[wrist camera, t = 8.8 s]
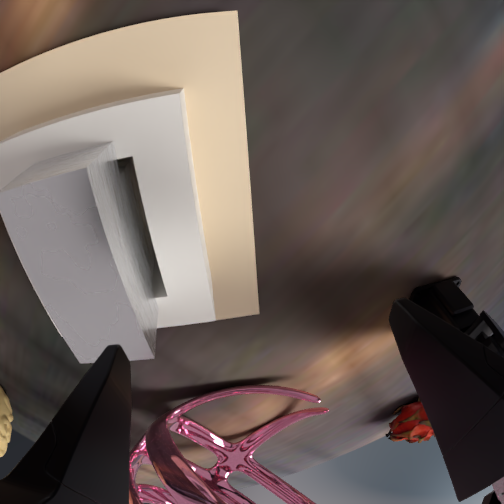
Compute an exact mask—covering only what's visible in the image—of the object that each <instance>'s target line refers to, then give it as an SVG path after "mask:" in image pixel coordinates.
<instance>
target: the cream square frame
mask: <svg viewBox="0 0 504 504" xmlns="http://www.w3.org/2000/svg"><path fill="white" fill-rule="evenodd" d="M108 142H114V147H115V152H116V157H117V159H122V158H126V157H131V156H133V161H134V166H135V171H136V175H137V180H138V185H139V189H140V194H141V198H142V202H143V207H144V211H145V215H146V219H147V223H148V227H149V231H150V235H151V239H152V243H153V247H154V250H155V254H156V259H155V266H154V272H153V279H152V285H151V287H152V290H153V293H154V296H155V299H156V302H157V305H158V319H157V328H163V327H172V326H180V325H188V324H196V323H203V322H210V321H216V320H222V319H229V318H236V317H242V316H249V315H255V314H259V301H258V287H257V272H256V258H255V244H254V230H253V216H252V202H251V188H250V174H249V161H248V147H247V133H246V120H245V106H244V93H243V79H242V66H241V53H240V40H239V27H238V13H237V11H224V12H212V13H202V14H194V15H186V16H179V17H172V18H166V19H161V20H155V21H150V22H145V23H140V24H136V25H131V26H127V27H123V28H119V29H115V30H111V31H108V32H104V33H100V34H97V35H94V36H90V37H87V38H84V39H81V40H78V41H75V42H72V43H69V44H66V45H64V46H61V47H58V48H56V49H53V50H50V51H48V52H45V53H43V54H40V55H38V56H36V57H33V58H31V59H29V60H27V61H24V62H22V63H20V64H18V65H16V66H14V67H12V68H9V69H7V70H5V71H3V72H1V73H0V190H1V189H2V188H3V187H5V186H6V185H7V184H8V183H9V182H11V181H12V180H13V179H14V178H16V177H17V176H18V175H19V174H21V173H22V172H23V171H25V170H26V169H27V168H29V167H30V166H31V165H33V164H34V163H36V162H39V161H43V160H46V159H49V158H52V157H56V156H59V155H63V154H66V153H70V152H73V151H77V150H81V149H84V148H88V147H92V146H96V145H100V144H104V143H108ZM0 213H1V211H0ZM1 216H2V213H1ZM2 219H3V216H2ZM3 221H4V219H3ZM4 224H5V221H4ZM5 226H6V224H5ZM6 229H7V226H6ZM7 231H8V229H7ZM8 234H9V231H8ZM9 236H10V234H9ZM10 239H11V241H12V238H11V236H10ZM12 243H13V241H12ZM13 246H14V243H13ZM14 248H15V246H14ZM15 250H16V248H15ZM16 253H17V255H18V252H17V250H16ZM18 257H19V255H18ZM19 259H20V257H19ZM20 261H21V259H20ZM21 263H22V261H21ZM22 266H23V268H24V270H25V272H26V269H25V267H24V265H23V263H22ZM26 274H27V272H26ZM27 276H28V274H27ZM28 278H29V276H28ZM29 280H30V278H29ZM30 282H31V280H30ZM31 284H32V282H31ZM32 286H33V284H32ZM33 288H34V290H35V292H36V293H37V291H36V289H35V287H34V286H33ZM37 295H38V293H37ZM38 297H39V295H38ZM39 299H40V297H39ZM40 301H41V299H40ZM41 303H42V304H43V302H42V301H41ZM43 306H44V304H43ZM44 308H45V306H44ZM45 310H46V308H45ZM46 312H47V313H48V311H47V310H46ZM48 315H49V313H48ZM49 317H50V315H49ZM50 319H51V320H52V318H51V317H50ZM52 322H53V320H52ZM53 324H54V325H55V323H54V322H53ZM55 327H56V325H55ZM56 329H57V330H58V328H57V327H56ZM58 332H59V330H58ZM59 333H60V332H59ZM60 335H61V333H60ZM61 337H62V335H61Z"/></svg>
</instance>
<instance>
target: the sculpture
mask: <svg viewBox="0 0 504 504" xmlns="http://www.w3.org/2000/svg"><path fill="white" fill-rule="evenodd" d="M12 421H13V415H12V408H11V405H10V402H9V398H8V396H7V395H6V394H5V392H4V390H3V389H2V387H1V386H0V457H2V456H3V455H4V454H5V452H6V450H7V443H9V442H10V436H11V430H12V426H11V424H10V422H12Z"/></svg>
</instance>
